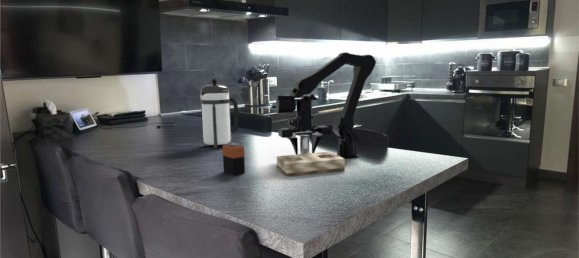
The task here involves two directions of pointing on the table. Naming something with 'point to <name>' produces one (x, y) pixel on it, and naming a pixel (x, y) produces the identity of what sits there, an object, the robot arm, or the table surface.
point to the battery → (233, 158)
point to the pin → (304, 144)
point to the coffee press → (217, 114)
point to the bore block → (310, 163)
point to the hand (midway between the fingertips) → (304, 154)
